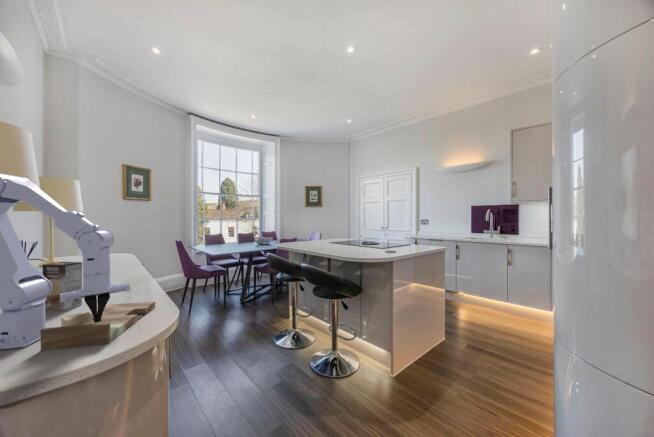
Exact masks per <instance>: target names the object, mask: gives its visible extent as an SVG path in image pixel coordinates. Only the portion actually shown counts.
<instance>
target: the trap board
mask: <svg viewBox="0 0 654 437" xmlns="http://www.w3.org/2000/svg"><path fill="white" fill-rule="evenodd" d="M155 308H156V301H155V300H154V301H143V302H130V303H114V304H113V303H111V304H109V305H106V306H105V308H104V311H103V314H102V317H101V322H97V323H94V317H93V324H88V325H76V326H64V327H61V326H56V327H55V326H53V327H52V326H51V327H46V328H43V329H41V330H40V331H41V339H40V351H49V350H59V349H69V348H70V349H71V348H78V347H80V348H81V347H88V346H89V347H90V346H98V345H99V346H102V345H108V344H110V343H111V342H113V341H114V340H115V339H116V338H117V337H119V336H120V335H122V333H124V332H125V331H126V330H128V329H129V328H130V327H131V326H133V325H134V324H135V323H137V322H138V321H139V320H140V319H142V318H143V317H145V316H146V315H147V314H149V313H150V312H151V311H152V310H153V309H155ZM149 311H150V312H149ZM91 314H92V313H91ZM92 315H93V314H92Z"/></svg>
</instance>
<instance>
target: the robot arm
mask: <svg viewBox="0 0 654 437" xmlns="http://www.w3.org/2000/svg"><path fill="white" fill-rule="evenodd" d="M21 201H22V202H23V201H24V202H25V203H28V204H29V205H31V207H33V208H35V209H37V210H39V211H40V212H42V213H43V214H45V215H47V216H48V217H50V218H51V219H53V221H54V222H53V225H54V227H55V228H57V229H59V230H60V231H61V232H63V233H64V234H65V235H67V236H69V238H71V239H73V240H74V241H75V242H76V246H77V247H78V249H79V250H80V251H81V254H82V290H77V291H72V292H67V293H61V294H60V302H65V301H68V300H74V299H80V298H82V299H84V302H85V304H86V305H87V307H88V309H89V310H90V313H91V314H93V317H94V323H97V322H101V317H102V314H103V311H104V308H105V307H107V305H108V302H109V300H110V298H111V294H115V293H122V292H130V291H131V285H130V283H121V284H120V283H119V284H111V246H113V245H114V242H115V238H114V234H112V233H111V232H110V230H109V229H104V228H103V229H100V227H101V226H100V225H98V224H94V223H93V222H91V221H90V220H88V219H87V218H85V216H86V214H84V213H83V212H78V211H76V210H69V211H68V210H67V209H65V208H64V207H63V206H62V205H60V204H59V203H58V202H56V200H54V199H53V198H52V197H50V196H49V195H48V194H47V193H45V192H44V191H43V190H42V189H40V188H39V186H38V185H37V184H36V183H34V182H32V181H30V179H28V178H26V177H24V176H20V175H13V174H6V173H1V172H0V311H1V313H0V350H8V349H18V348H19V349H20V348H26V347H28V346H30V345H32V344H33V343H35V342H37V341H39V340H41V331H40V330H41V329H43V328H47V327H46V310H45V301H46V297H47V296H48V295H49V294H50V293H51V291H52V284H51V282H50V281H49V280H48V279H46V278H45V277H44V276H43V271H42V270H40V269H37V268H35V267H33V266H32V265H31V263H30V261H29V259H28V256H27V254H26V252H25V250H24V248H23V246H22V244H21V241H20V240H19V238H18V235H17V233H16V230H15V229H14V226H13V224H12V222H11V219H10V218H9V216H8V214H7V212H8V211H9V210H10V209H11V208H12V207H14V206H15V205H17V204H18V203H20V202H21Z"/></svg>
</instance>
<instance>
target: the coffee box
mask: <svg viewBox="0 0 654 437" xmlns="http://www.w3.org/2000/svg"><path fill="white" fill-rule="evenodd" d="M42 274H43V276H44V277H45V278H46V279H48V280H49V281H50V282H51V284H52V291H51V293H50V294H49V295H48V296H47V297H46V301H45V311H46V310H49V311H67V310H70V309H73V308H76V307H79V306H82V304H83V298H80V299H74V300H68V301H65V302H60V294H61V293H67V292H72V291H77V290H82V289H83V261H57V262H50V263H45V264H42Z"/></svg>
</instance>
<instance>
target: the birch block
mask: <svg viewBox="0 0 654 437" xmlns="http://www.w3.org/2000/svg"><path fill="white" fill-rule="evenodd" d="M88 324H93V315H92V313H91V312H89V311H82V312H78V313H74V314H68V315H64V316H61V317H60V327H64V326H76V325H88Z"/></svg>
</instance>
